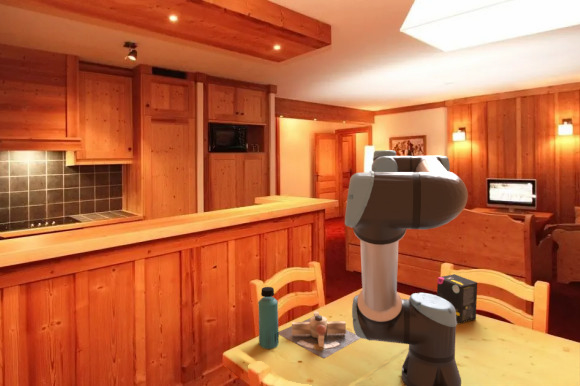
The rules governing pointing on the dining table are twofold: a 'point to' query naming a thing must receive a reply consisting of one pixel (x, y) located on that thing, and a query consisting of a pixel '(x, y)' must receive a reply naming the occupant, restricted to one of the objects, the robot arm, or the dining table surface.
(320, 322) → the capstan
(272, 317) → the beverage bottle
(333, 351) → the stand
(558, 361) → the dining table surface
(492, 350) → the dining table surface
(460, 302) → the tampon box
